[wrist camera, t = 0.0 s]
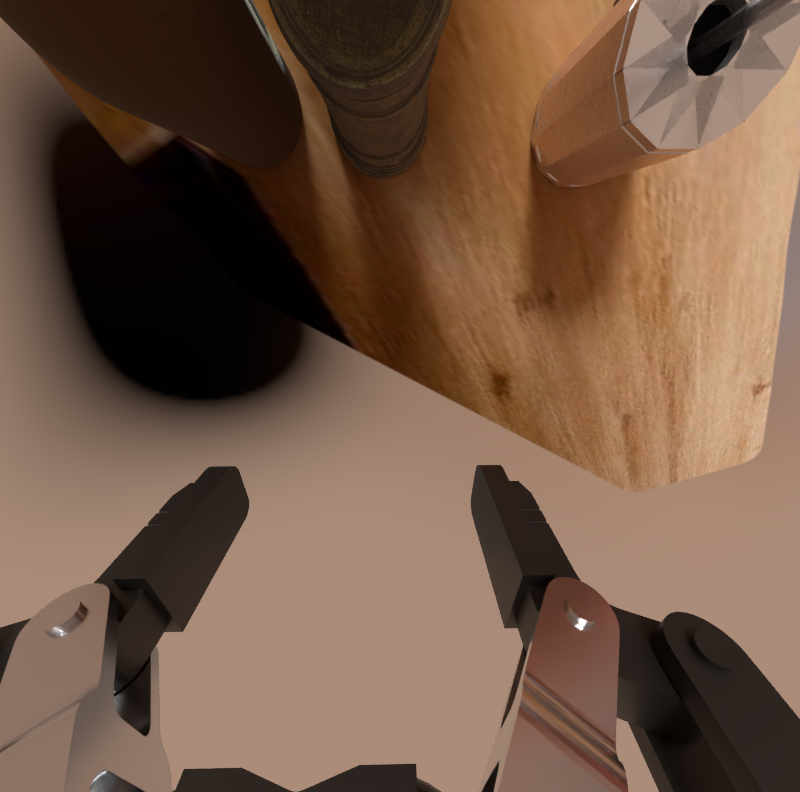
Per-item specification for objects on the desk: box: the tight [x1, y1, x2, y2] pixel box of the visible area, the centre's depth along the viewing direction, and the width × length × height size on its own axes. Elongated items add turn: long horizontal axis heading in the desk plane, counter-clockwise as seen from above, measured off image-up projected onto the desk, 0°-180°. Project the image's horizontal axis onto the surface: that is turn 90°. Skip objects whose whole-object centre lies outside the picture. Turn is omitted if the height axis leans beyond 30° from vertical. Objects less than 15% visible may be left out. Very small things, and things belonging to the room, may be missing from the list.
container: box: [268, 0, 452, 178], centre depth 19 cm, size 9×9×18 cm
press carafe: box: [531, 0, 800, 188], centre depth 22 cm, size 12×10×13 cm
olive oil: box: [0, 0, 301, 168], centre depth 16 cm, size 11×11×25 cm
